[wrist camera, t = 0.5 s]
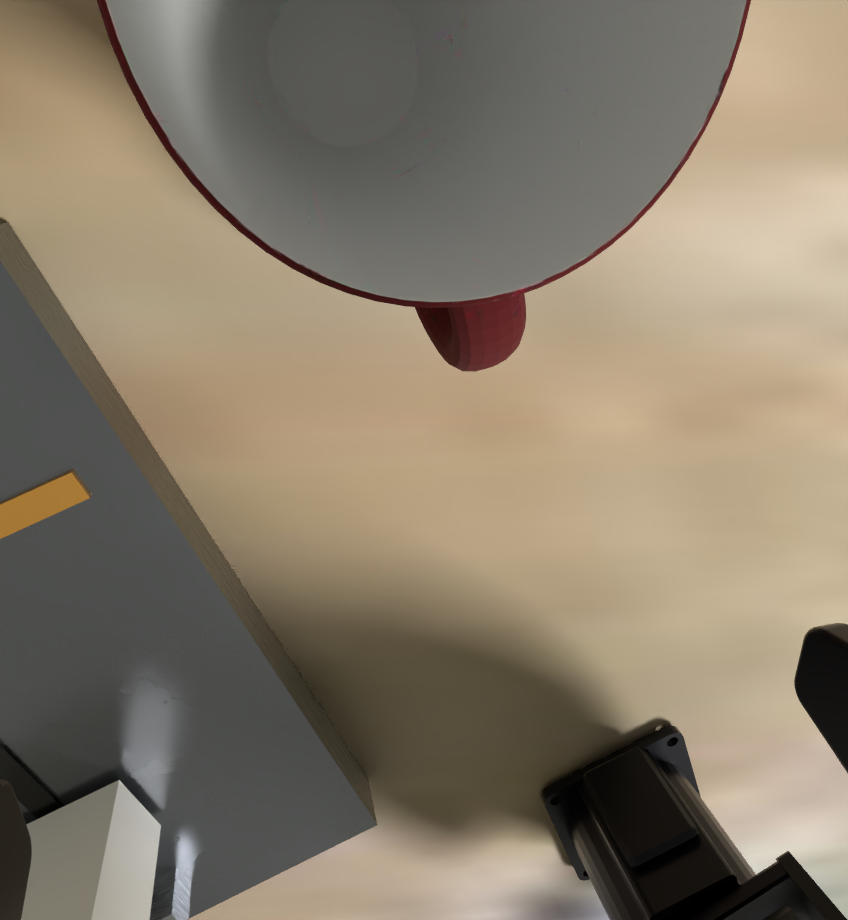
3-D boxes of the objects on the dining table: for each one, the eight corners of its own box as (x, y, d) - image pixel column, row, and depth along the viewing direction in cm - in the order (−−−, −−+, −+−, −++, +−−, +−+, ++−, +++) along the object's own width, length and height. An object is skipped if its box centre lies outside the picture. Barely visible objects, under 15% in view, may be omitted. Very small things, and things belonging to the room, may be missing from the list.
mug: (573, 234, 20) (842, 294, 11) (329, 369, 20) (400, 543, 11) (415, -214, 15) (667, -761, 6) (91, -39, 15) (-137, -336, 6)
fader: (160, 825, 22) (142, 977, 18) (19, 894, 22) (-32, 1064, 17) (119, 779, 21) (88, 931, 17) (-31, 851, 20) (-98, 1023, 16)
